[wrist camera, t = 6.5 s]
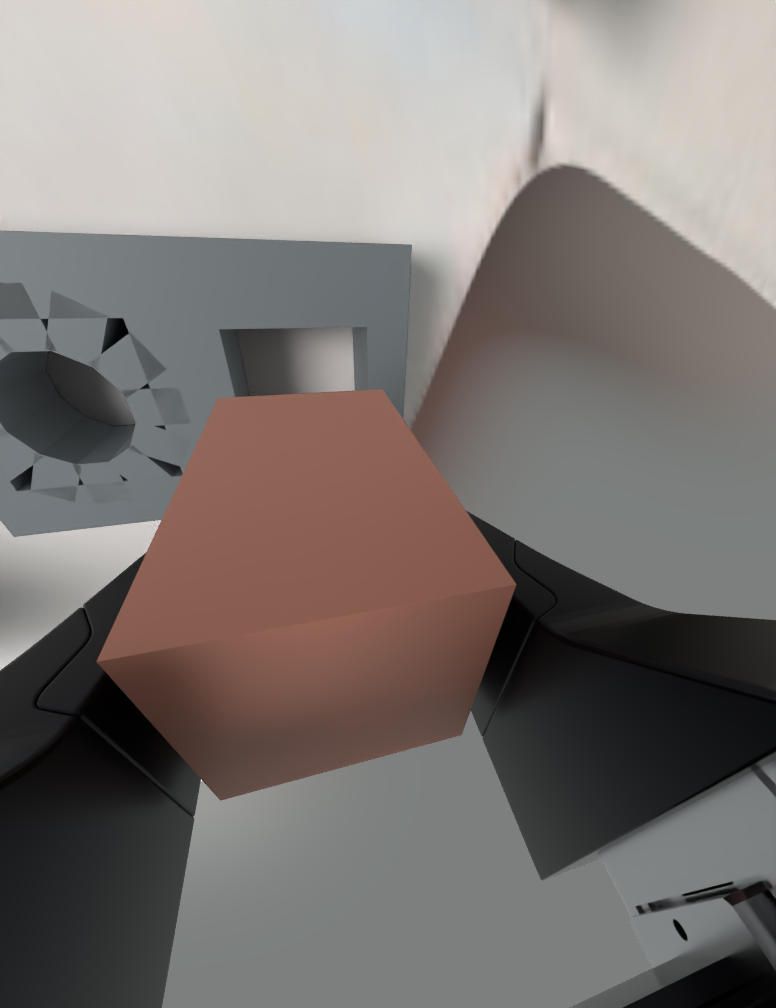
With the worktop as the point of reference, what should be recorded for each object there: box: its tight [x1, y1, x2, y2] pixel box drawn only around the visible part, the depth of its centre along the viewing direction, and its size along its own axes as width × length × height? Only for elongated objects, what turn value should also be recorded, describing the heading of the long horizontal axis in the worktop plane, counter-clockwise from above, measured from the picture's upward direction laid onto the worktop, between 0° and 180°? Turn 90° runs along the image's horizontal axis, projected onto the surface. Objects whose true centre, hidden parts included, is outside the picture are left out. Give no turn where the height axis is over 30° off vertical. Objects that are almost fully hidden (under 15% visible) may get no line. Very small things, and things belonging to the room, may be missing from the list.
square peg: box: [97, 389, 516, 800], centre depth 7 cm, size 4×4×7 cm
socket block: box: [0, 231, 412, 537], centre depth 16 cm, size 11×18×4 cm, turn 89°
